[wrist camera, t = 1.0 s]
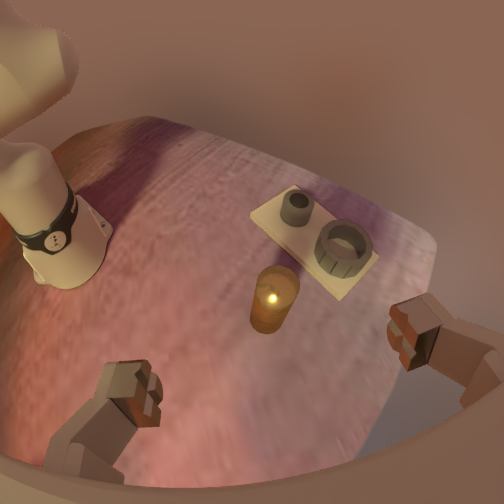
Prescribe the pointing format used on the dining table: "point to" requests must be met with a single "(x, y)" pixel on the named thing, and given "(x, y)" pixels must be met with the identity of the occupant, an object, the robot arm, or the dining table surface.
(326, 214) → the fitting plate
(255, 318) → the amber cylinder
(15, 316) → the dining table surface
